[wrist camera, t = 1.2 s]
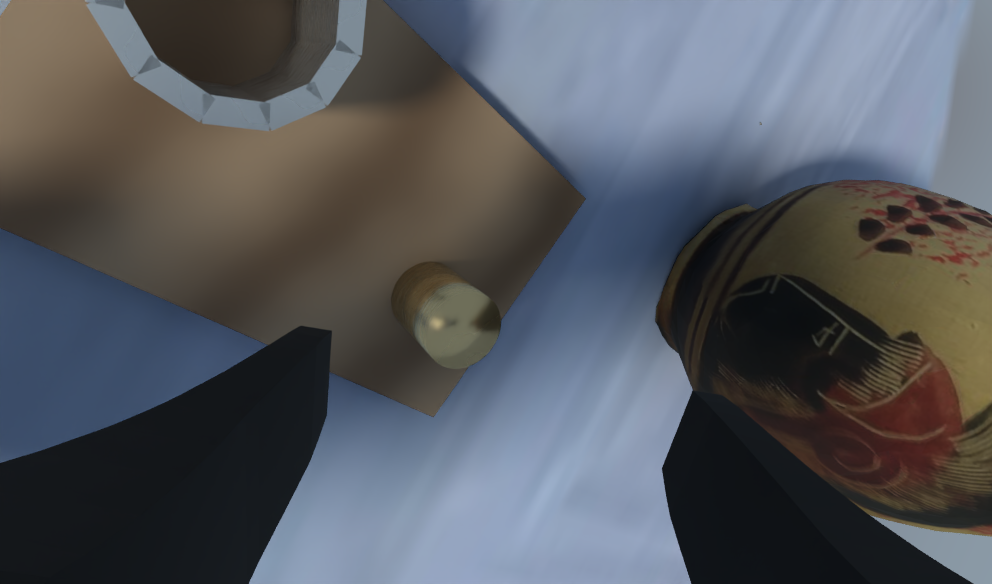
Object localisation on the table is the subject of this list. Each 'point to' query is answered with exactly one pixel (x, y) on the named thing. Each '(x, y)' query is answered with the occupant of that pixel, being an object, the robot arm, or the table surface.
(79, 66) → the walnut board
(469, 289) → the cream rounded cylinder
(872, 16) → the table surface
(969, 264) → the ceramic jug
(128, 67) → the steel collar
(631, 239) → the table surface
